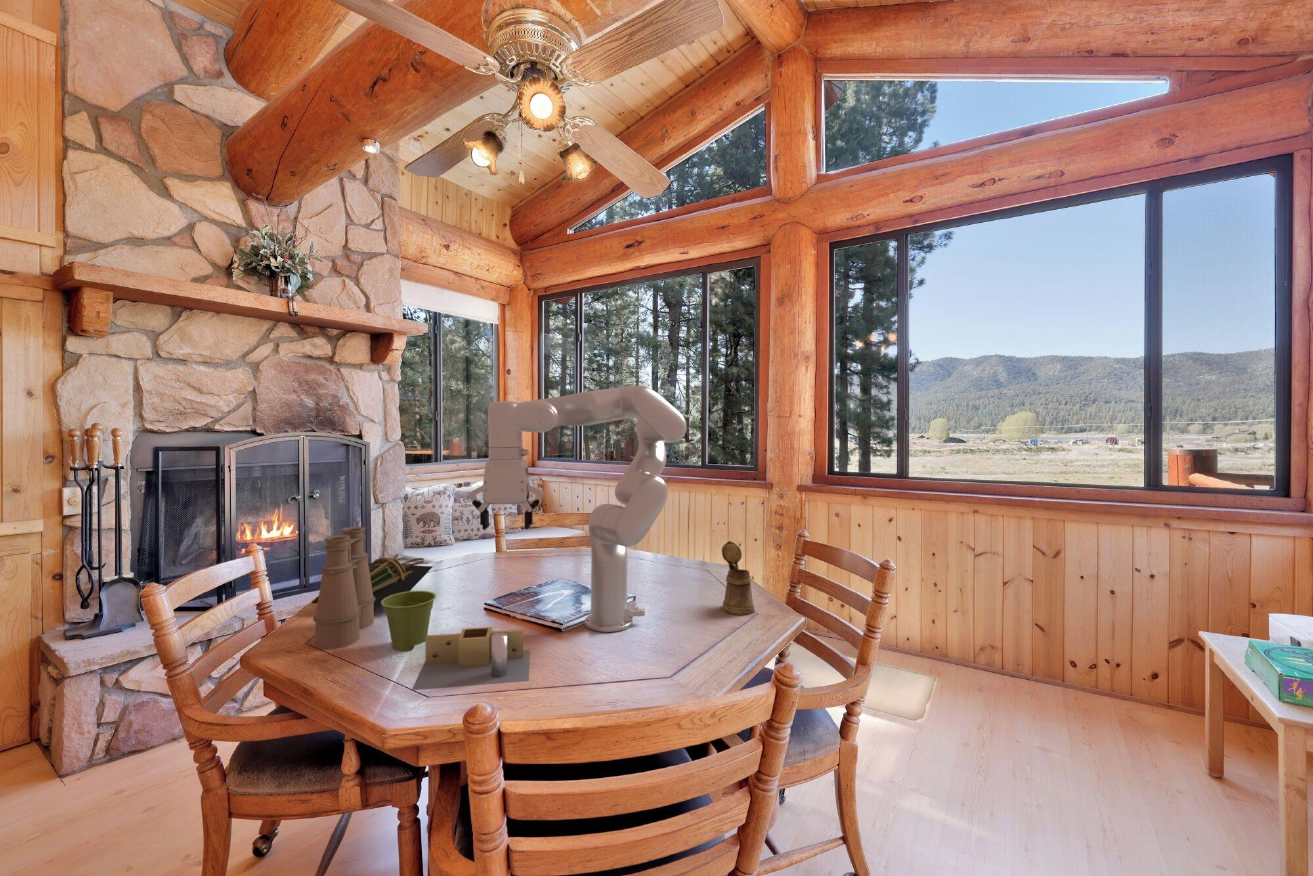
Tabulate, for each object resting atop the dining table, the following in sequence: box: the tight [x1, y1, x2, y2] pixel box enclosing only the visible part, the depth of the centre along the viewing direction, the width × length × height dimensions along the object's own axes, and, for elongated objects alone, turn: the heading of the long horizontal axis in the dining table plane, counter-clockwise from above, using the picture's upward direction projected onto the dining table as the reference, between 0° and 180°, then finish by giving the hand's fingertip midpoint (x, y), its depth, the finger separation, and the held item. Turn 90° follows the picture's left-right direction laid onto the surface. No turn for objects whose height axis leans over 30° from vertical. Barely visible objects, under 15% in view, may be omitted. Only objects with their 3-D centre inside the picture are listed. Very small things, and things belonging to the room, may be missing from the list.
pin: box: [491, 633, 508, 678], centre depth 114 cm, size 3×3×8 cm
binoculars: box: [312, 526, 376, 650], centre depth 137 cm, size 21×10×25 cm, turn 10°
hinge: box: [425, 626, 524, 668], centre depth 120 cm, size 20×6×6 cm, turn 102°
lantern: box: [310, 553, 434, 607], centre depth 164 cm, size 14×23×30 cm
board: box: [411, 649, 531, 691], centre depth 116 cm, size 22×15×1 cm
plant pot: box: [381, 590, 437, 652], centre depth 130 cm, size 12×12×11 cm
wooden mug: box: [721, 540, 755, 616], centre depth 160 cm, size 9×14×18 cm, turn 11°
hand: (506, 528), depth 128 cm, fingers open, 9 cm apart
